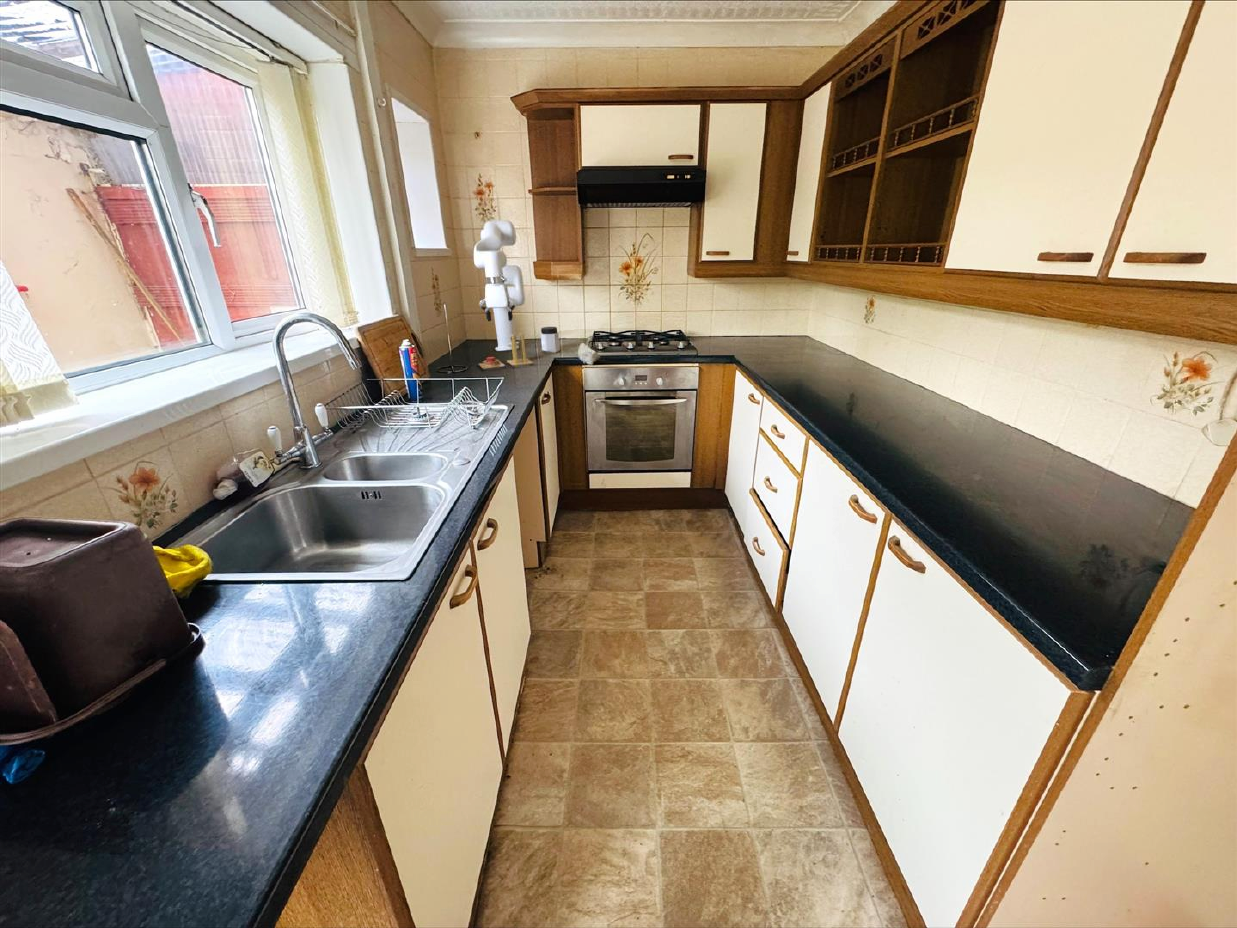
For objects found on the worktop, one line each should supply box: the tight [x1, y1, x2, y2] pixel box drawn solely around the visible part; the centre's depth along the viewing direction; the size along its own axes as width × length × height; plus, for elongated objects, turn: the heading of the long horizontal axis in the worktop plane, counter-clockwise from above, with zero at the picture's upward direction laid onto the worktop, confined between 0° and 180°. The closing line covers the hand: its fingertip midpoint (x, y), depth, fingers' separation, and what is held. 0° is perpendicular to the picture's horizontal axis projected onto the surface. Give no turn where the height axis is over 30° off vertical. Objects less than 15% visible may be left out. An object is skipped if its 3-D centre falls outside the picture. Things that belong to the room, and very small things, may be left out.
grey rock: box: [577, 342, 601, 366], centre depth 232 cm, size 15×7×15 cm
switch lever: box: [508, 334, 521, 346], centre depth 237 cm, size 12×5×2 cm, turn 24°
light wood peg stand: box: [506, 332, 535, 367], centre depth 235 cm, size 12×10×14 cm
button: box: [485, 356, 496, 362], centre depth 232 cm, size 4×4×2 cm
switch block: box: [478, 358, 506, 370], centre depth 233 cm, size 12×10×3 cm
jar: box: [540, 326, 560, 354], centre depth 261 cm, size 9×8×12 cm
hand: (500, 320), depth 232 cm, fingers open, 9 cm apart
